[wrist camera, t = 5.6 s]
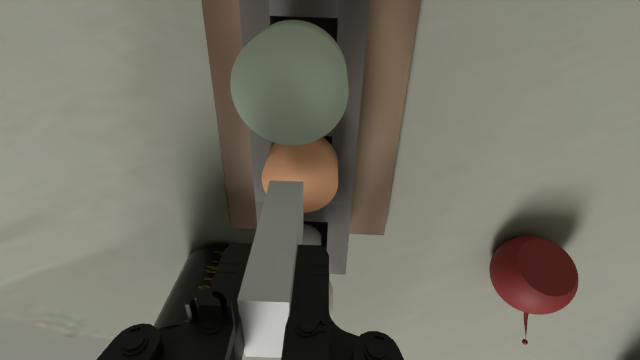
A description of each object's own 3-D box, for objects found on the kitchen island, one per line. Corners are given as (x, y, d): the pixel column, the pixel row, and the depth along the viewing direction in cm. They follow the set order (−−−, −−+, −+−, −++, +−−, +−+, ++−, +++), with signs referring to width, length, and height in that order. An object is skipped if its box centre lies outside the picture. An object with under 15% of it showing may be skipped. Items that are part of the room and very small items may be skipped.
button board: (234, 220, 30) (215, 268, 25) (203, -26, 21) (165, -23, 16) (382, 227, 30) (391, 276, 25) (419, -19, 20) (444, -13, 16)
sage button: (265, 89, 19) (236, 143, 13) (261, 5, 17) (223, 26, 11) (341, 93, 19) (344, 147, 13) (347, 8, 16) (353, 30, 11)
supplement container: (187, 232, 31) (127, 341, 22) (264, 246, 31) (236, 357, 22) (187, 285, 34) (136, 397, 26) (256, 296, 35) (229, 410, 26)
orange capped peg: (279, 156, 25) (263, 211, 20) (277, 101, 23) (259, 145, 18) (336, 158, 25) (336, 214, 20) (339, 104, 23) (340, 148, 17)
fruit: (470, 249, 33) (485, 342, 29) (498, 227, 28) (520, 335, 24) (536, 252, 33) (560, 346, 29) (575, 231, 28) (610, 340, 24)
